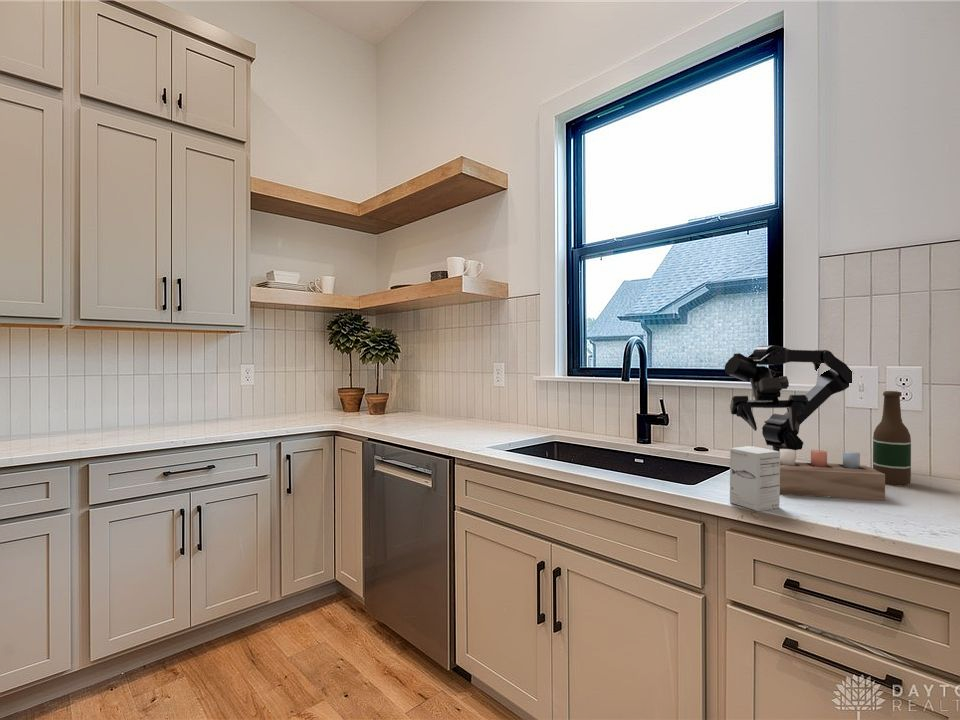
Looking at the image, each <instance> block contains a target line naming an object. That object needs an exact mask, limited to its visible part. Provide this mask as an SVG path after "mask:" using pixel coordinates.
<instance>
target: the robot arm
mask: <svg viewBox="0 0 960 720" xmlns="http://www.w3.org/2000/svg"><path fill="white" fill-rule="evenodd" d="M786 363H812V364H813V366H814V371H815V370H816V371H817V369H818V368H819V366H820V364H821V363H824V365H825V366H826V367H830V368H831V369H830V370H828V371H826V372H824V373H823V374H821V375H820V376H817V377H816V382H815V383H816V384H815V385H814V386H813V387H812V388H811V389H810V390H809V391H807V392H806V393H805V394H789V396H788V398H787V399H783V400H781V399H780V400H779V398H781V395H782V394H781V391H782V390H787V389H788V388H789V386H790V384H789V379H788V377H787V375H784V376H783V375H782V376H779V377H774V376H776V375H777V373H776V372H775V370H772V369H770V367H768V366H778V365H784V364H786ZM758 365H759V366H758ZM850 369H851V368H849V366H848V365H847V364H846V363H845V362H843V361H842V360H841V359H839V358H838V357H836V356H835V355H834V354H833V352H832V351H830V350H827V349H815V350H814V349H813V350H811V349H810V350H809V349H804V350H803V349H790V348H788V347H787V348H786V347H785V346H784V347H783V346H779V345H774V344H773V345H757V346H756V347H755V348H754V350H753V351H752V352H751V353H750V354H748V355H747V356H746V355H744V354H743V353H739V352H735V353H734V352H733V355H732V357H730V358H729V359H728V361H727V362H726V363H725V364H724V373H725V374H726V375H728V376H730V377H733V378H736V379H738V380H740V381H743V382H746V381H749V382H750V384H751V389H752V396H753V398H754V399H749V396H748V395H733V396H732V397H731V401H730V404H729V408H730V409H729V410H730V414H732V415H736V416H737V417H738V418H742V419H743V420H744V421H745V422H746V423H747V424H748V425H749V426H750V427H751V428H752V430H754V431H755V432H756V431H757V430H758V427H757V423H756V420H755V417H754V414H753V411H752V408H753V409H755V408H756V409H757V408H759V409H761V408H762V409H786V412H785V413H784V414H780V413H773V414H772V415H771V416H770V417H769V418H768V419H767V420H764V424H763V425H762V427H761V429H762V433H761V434H762V436H763V438H764V441H765V444H766V446H769V447H770V446H771V447H772V450H774V451H780V449H792V450H795V451H798V450H800V451H801V450H802V449H803V445H804V441H803V440H802V439H801V438H800V437H799V436H798V434H799V432H800V426H801V425H802V423H803V422H805V421H806V420H807V419H808V418H809V417H810V416H811V415H812V414H813V413H814V412H815V411H816V410H817V409H818V408H819V407H820V406H822V404H824V403H825V402H826V401H827V400H828V399H830V397H831V396H833V395H834V394H835V395H836V394H837V393H840V392H843V391H846V390H847V389H848V388H850V387H849V383H852V372H853V370H852V369H851V370H852V371H851V370H850Z"/></svg>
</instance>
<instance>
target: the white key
mask: <svg viewBox="0 0 960 720" xmlns="http://www.w3.org/2000/svg"><path fill="white" fill-rule="evenodd" d="M795 462H796V450H792V449H780V465H786V466H795Z"/></svg>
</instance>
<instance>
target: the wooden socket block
mask: <svg viewBox="0 0 960 720" xmlns="http://www.w3.org/2000/svg"><path fill="white" fill-rule="evenodd" d="M788 494H793V495H792V496H805V495H810V496H809V497H821V496H830V497H829V498H838V497H842V498H843V499H854V498H856V500H858V499H859V500H870V499H871V500H873V501H885V500H886V484H885V474H883V473H881V472H879V471H876V470H874V469H873V467H870V466H867V465H862V464H860V469H849V468H843V463H827V467H811V462H799V461H798V462H797V461H795V466H786V465H780V495H788ZM811 495H813V496H811ZM842 498H841V499H842Z"/></svg>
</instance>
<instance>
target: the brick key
mask: <svg viewBox="0 0 960 720" xmlns="http://www.w3.org/2000/svg"><path fill="white" fill-rule="evenodd" d="M810 463H811V467H827V464H828V451H826V450H820V449H819V450H818V449H811V450H810Z"/></svg>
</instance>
